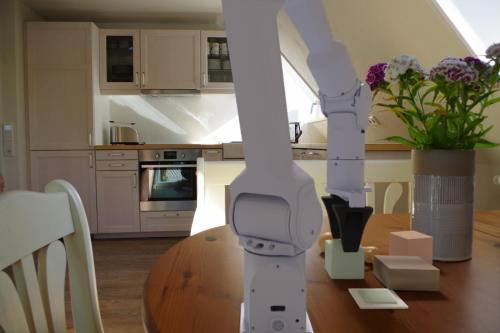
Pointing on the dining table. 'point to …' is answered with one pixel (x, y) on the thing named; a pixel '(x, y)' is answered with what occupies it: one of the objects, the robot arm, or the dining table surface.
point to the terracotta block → (411, 245)
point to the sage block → (343, 261)
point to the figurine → (368, 252)
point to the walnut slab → (406, 273)
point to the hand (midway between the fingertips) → (344, 244)
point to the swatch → (377, 299)
